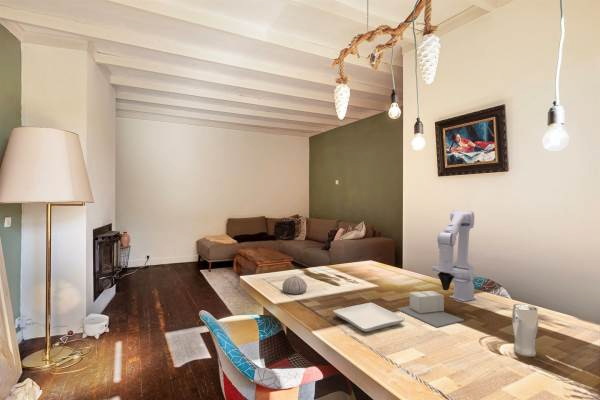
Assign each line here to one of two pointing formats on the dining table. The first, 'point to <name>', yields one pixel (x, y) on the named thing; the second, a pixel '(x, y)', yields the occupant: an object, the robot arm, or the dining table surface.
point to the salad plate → (368, 316)
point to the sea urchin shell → (294, 285)
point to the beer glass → (525, 329)
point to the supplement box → (426, 301)
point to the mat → (432, 317)
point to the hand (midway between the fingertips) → (445, 289)
